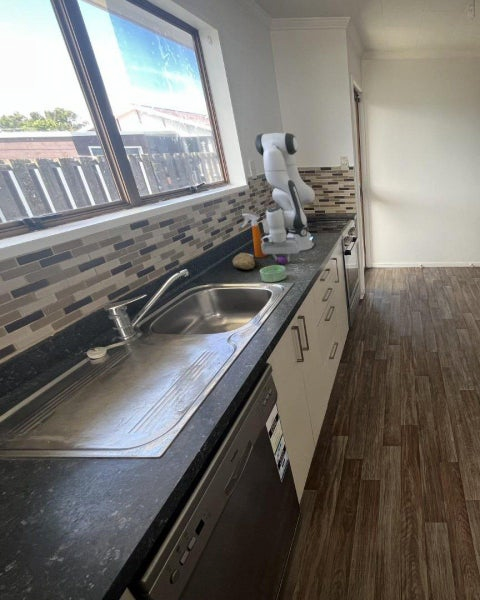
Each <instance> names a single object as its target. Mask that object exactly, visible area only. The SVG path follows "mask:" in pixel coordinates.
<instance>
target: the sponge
mask: <svg viewBox="0 0 480 600" xmlns="http://www.w3.org/2000/svg"><path fill="white" fill-rule="evenodd" d="M231 263H232V266H233V267H235V268H237V269H240V270H246V271H247V270H248V271H249V270H251V269H254V268H255V266H256V262H255V255H253V254H251V253H247V252H239V253H238V254H236V255H235V256H234V257H233V258H232V261H231Z"/></svg>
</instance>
